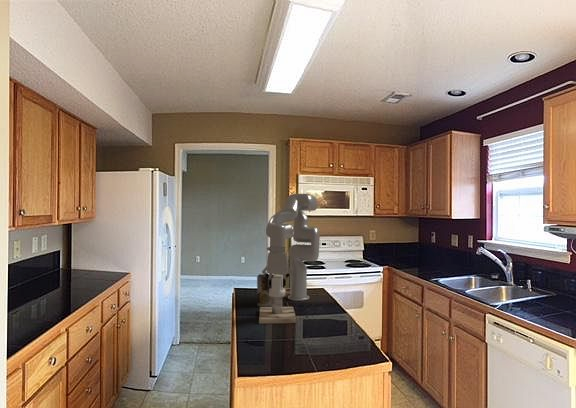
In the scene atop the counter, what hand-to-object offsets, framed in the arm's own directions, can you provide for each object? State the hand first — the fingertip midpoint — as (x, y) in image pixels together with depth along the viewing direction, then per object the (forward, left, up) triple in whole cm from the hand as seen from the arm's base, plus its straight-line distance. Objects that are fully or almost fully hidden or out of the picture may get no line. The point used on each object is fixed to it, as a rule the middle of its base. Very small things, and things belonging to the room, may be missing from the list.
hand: (277, 286), depth 170 cm
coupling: (0, +1, -4) cm, 4 cm away
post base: (0, 0, -14) cm, 14 cm away
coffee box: (-22, -6, -15) cm, 27 cm away
